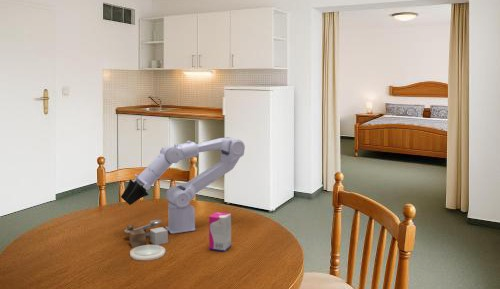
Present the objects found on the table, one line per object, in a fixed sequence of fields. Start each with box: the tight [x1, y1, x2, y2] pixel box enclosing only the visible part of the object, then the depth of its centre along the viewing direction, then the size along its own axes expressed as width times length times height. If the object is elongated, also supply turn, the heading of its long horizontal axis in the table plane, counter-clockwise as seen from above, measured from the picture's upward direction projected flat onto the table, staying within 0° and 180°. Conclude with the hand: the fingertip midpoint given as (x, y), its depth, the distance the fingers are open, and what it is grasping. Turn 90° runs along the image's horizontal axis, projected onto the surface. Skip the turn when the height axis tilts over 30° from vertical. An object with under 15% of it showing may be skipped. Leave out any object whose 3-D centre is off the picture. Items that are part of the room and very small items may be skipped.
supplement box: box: [208, 211, 232, 253], centre depth 150 cm, size 6×6×12 cm
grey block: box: [149, 226, 169, 246], centre depth 155 cm, size 4×4×4 cm
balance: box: [124, 219, 162, 239], centre depth 161 cm, size 13×4×5 cm, turn 116°
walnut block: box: [128, 229, 147, 249], centre depth 153 cm, size 4×4×4 cm
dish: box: [129, 244, 166, 262], centre depth 145 cm, size 11×11×1 cm
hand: (125, 201), depth 157 cm, fingers open, 7 cm apart
